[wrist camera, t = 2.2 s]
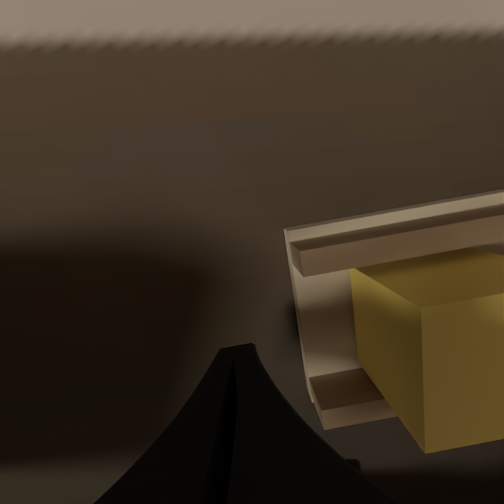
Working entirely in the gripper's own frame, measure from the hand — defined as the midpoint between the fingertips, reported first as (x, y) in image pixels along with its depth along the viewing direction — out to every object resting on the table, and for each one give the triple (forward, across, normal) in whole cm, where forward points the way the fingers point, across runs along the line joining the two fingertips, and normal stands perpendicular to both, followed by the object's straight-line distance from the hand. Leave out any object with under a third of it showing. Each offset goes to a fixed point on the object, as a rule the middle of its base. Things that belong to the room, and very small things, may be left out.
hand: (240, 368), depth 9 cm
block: (+2, -8, 0) cm, 8 cm away
